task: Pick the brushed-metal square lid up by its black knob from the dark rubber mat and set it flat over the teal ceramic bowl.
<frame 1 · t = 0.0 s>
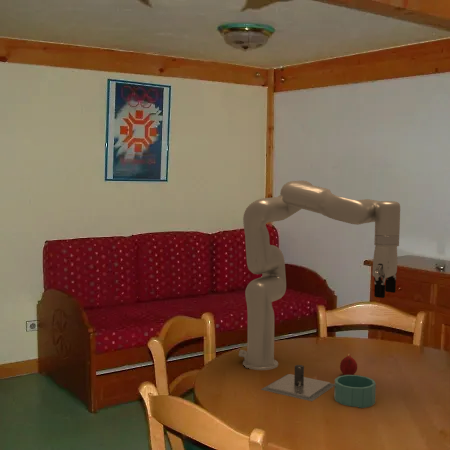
hand: (385, 294, 205), 31 cm above the table, tool pointing down, fingers open, 9 cm apart
mat: (298, 388, 210), on the table
bowl: (354, 400, 200), on the table
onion: (348, 377, 221), on the table
lid: (298, 386, 210), resting on mat
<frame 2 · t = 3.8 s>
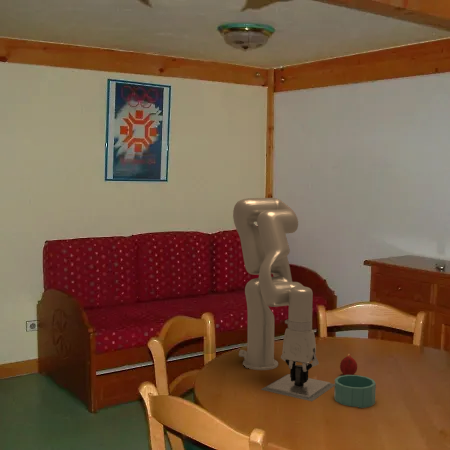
hand: (299, 380, 210), 2 cm above the table, tool pointing down, fingers closed on lid, 3 cm apart
lid: (298, 386, 210), resting on mat, touching gripper
everything else where it was.
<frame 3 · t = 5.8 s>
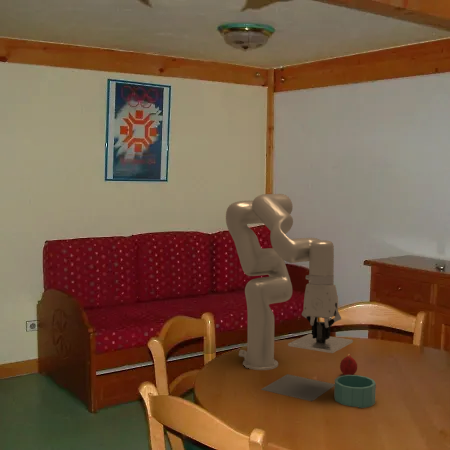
hand: (321, 337, 204), 18 cm above the table, tool pointing down, fingers closed on lid, 3 cm apart
lid: (320, 344, 204), point 16 cm above the table, touching gripper
everything else where it was.
when the fingers open (10 cm above the table, at t = 8.1 s): lid drops 2 cm, resting on bowl.
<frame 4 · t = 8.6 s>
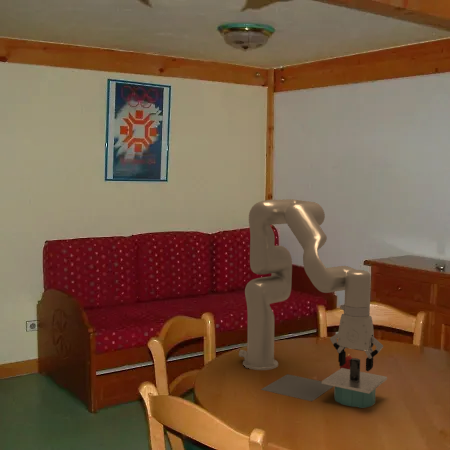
hand: (355, 367, 199), 10 cm above the table, tool pointing down, fingers open, 8 cm apart
lid: (354, 381, 199), point 6 cm above the table, touching bowl
everything else where it was.
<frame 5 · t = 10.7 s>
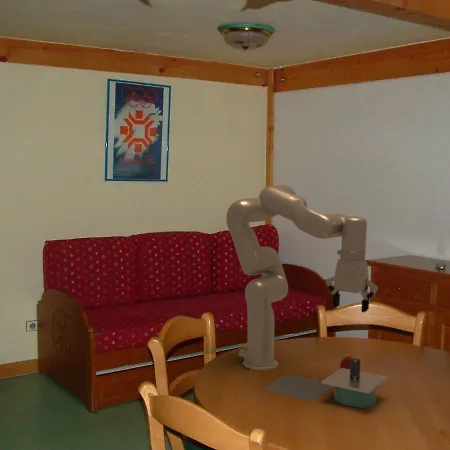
hand: (350, 308, 207), 26 cm above the table, tool pointing down, fingers open, 9 cm apart
nothing on the table moved.
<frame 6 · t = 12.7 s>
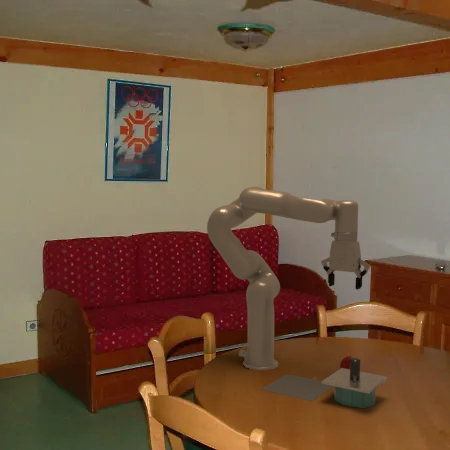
hand: (344, 287, 221), 30 cm above the table, tool pointing down, fingers open, 9 cm apart
nothing on the table moved.
at the end: lid 0.1 cm from the bowl (horizontally); lid point 6.0 cm above the table; lid tilted 0° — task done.
